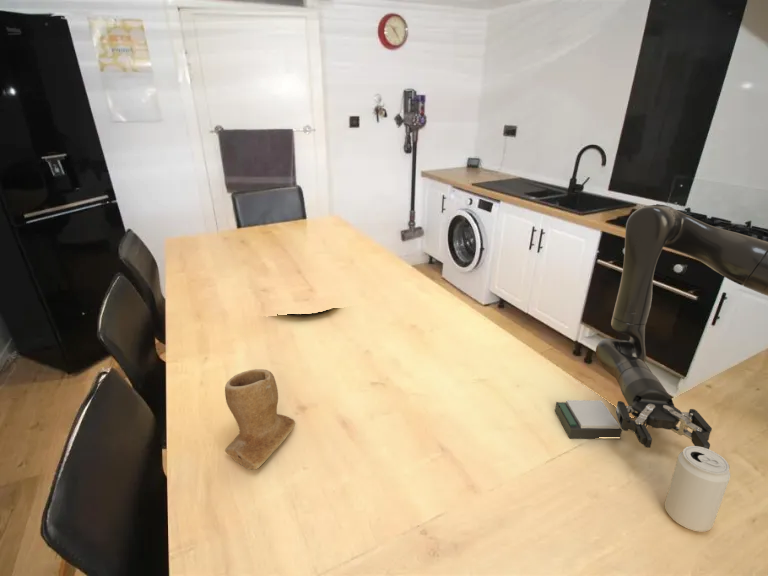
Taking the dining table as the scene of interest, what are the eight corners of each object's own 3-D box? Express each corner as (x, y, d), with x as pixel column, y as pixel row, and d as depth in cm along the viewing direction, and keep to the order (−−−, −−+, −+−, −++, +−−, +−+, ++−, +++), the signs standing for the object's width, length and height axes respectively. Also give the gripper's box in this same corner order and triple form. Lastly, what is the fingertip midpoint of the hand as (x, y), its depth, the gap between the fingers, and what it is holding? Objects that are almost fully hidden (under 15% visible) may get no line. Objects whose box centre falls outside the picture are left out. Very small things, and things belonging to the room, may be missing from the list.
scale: (600, 411, 91) (602, 399, 90) (620, 439, 83) (622, 426, 82) (554, 411, 92) (556, 399, 91) (569, 438, 83) (571, 426, 82)
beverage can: (669, 494, 70) (685, 437, 66) (715, 517, 66) (736, 458, 62) (658, 517, 66) (675, 458, 62) (708, 543, 62) (729, 482, 57)
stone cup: (258, 414, 94) (249, 357, 88) (303, 426, 89) (295, 366, 84) (209, 460, 81) (195, 396, 75) (258, 477, 76) (247, 410, 71)
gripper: (609, 373, 85) (635, 424, 71) (686, 381, 82) (730, 435, 67) (603, 403, 88) (627, 458, 73) (678, 412, 85) (718, 470, 70)
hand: (676, 447), depth 70 cm, fingers open, 8 cm apart
